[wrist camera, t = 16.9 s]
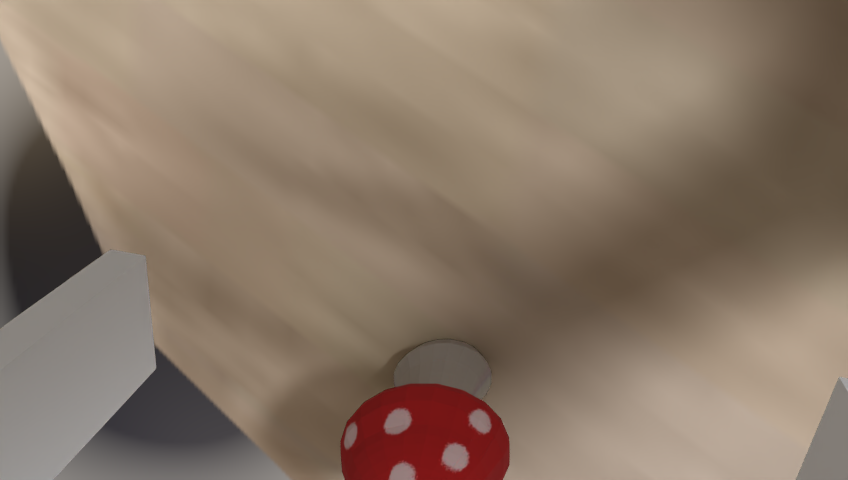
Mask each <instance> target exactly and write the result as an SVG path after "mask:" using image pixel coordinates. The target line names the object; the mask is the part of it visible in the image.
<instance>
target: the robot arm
mask: <svg viewBox="0 0 848 480" xmlns="http://www.w3.org/2000/svg"><path fill="white" fill-rule="evenodd" d="M155 369H156V360H155V349H154V339H153V328H152V318H151V307H150V296H149V286H148V275H147V265H146V256H145V255H140V254H134V253H128V252H122V251H117V250H111V249H110V250H109V251H108V252H106V253H105V254H103V255H102V256H101V257H99V258H98V259H96V260H95V261H94V262H92V263H91V264H90V265H88V266H87V267H85V268H84V269H83V270H81V271H80V272H78V273H77V274H75V275H74V276H73V277H71V278H70V279H69V280H67V281H66V282H64V283H63V284H62V285H60V286H59V287H57V288H56V289H55V290H53V291H52V292H50V293H49V294H48V295H46V296H45V297H43V298H42V299H41V300H39V301H38V302H36V303H35V304H34V305H32V306H31V307H29V308H28V309H27V310H25V311H24V312H22V313H21V314H20V315H18V316H17V317H15V318H14V319H13V320H11V321H10V322H9V323H7V324H6V325H4V326H3V327H2V328H0V480H54V479H55V477H56V476H57V475H58V474H59V473H60V472H61V471H62V470H63V469H64V468H65V467H66V465H68V463H69V462H70V461H71V460H72V459H73V458H74V457H75V456H76V455H77V454H78V452H80V450H81V449H82V448H83V447H84V446H85V445H86V444H87V443H88V442H89V441H90V440H91V438H92V437H93V436H94V435H95V434H96V433H97V432H98V431H99V430H100V429H101V428H102V427H103V426H104V424H105V423H106V422H107V421H108V420H109V419H110V418H111V417H112V416H113V415H114V414H115V413H116V412H117V410H118V409H119V408H120V407H121V406H122V405H123V404H124V403H125V402H126V401H127V400H128V399H129V397H130V396H131V395H132V394H133V393H134V392H135V391H136V390H137V389H138V388H139V386H141V384H142V383H143V382H144V381H145V380H146V379H147V378H148V377H149V376H150V375H151V374H152V373H153V371H154V370H155ZM796 480H848V378H842V377H839V378H838V381H837V383H836V385H835V388H834V390H833V393H832V395H831V397H830V400H829V402H828V404H827V407H826V409H825V412H824V414H823V416H822V419H821V421H820V424H819V426H818V428H817V431H816V433H815V435H814V438H813V440H812V443H811V445H810V447H809V450H808V452H807V454H806V457H805V459H804V462H803V464H802V466H801V469H800V471H799V473H798V476H797V478H796Z"/></svg>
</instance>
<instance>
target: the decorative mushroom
mask: <svg viewBox="0 0 848 480" xmlns="http://www.w3.org/2000/svg"><path fill="white" fill-rule="evenodd" d="M491 375H492V372H491V370H490V368H489V366H488V363H487V361H486V360H485V358H484V357H483V356H482V354H481V353H480V352H478V351H477V350H476V349H475V348H474V347H472V346H470V345H468V344H466V343H465V342H461V341H456V340H452V339H441V340H434V341H430V342H426V343H424V344H422V345H420V346H418V347H416V348H415V349H413V350H412V351H410V352H409V353H408V354H406V355H405V356H404V357H403V359H402V360H401V361H400V362H399V363H398V365H397V367H396V369H395V372H394V385H395V388H391V389H387V390H384V391H383V392H381V393H379V394H377V395H376V396H374V397H372V398H370V399H369V400H367V401H365V402H364V403H363V404H362V405H361V406H360V407H359V409H358V410H357V411H356V412H355V413H354V414H353V416H352V417H351V418H350V419H349V420H348V421H347V424H346V427H345V429H344V432H343V435H342V438H341V462H342V472H343V475H344V478H345V480H503V478H504V476H505V473H506V471H507V469H508V467H509V437H508V434H507V432H506V430H505V427H504V425H503V423H502V420H501V418H500V417H499V416H498V415H497V414H496V413H495V412H494V411H493V410H492V409H491V408H490V407H489V406H488V405H487V404H486V403H485V402H484V401H482V400H480V399H482V398H483V397H484V396H485V395H486V394H487V391H488V389H489V387H490V385H491Z"/></svg>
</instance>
